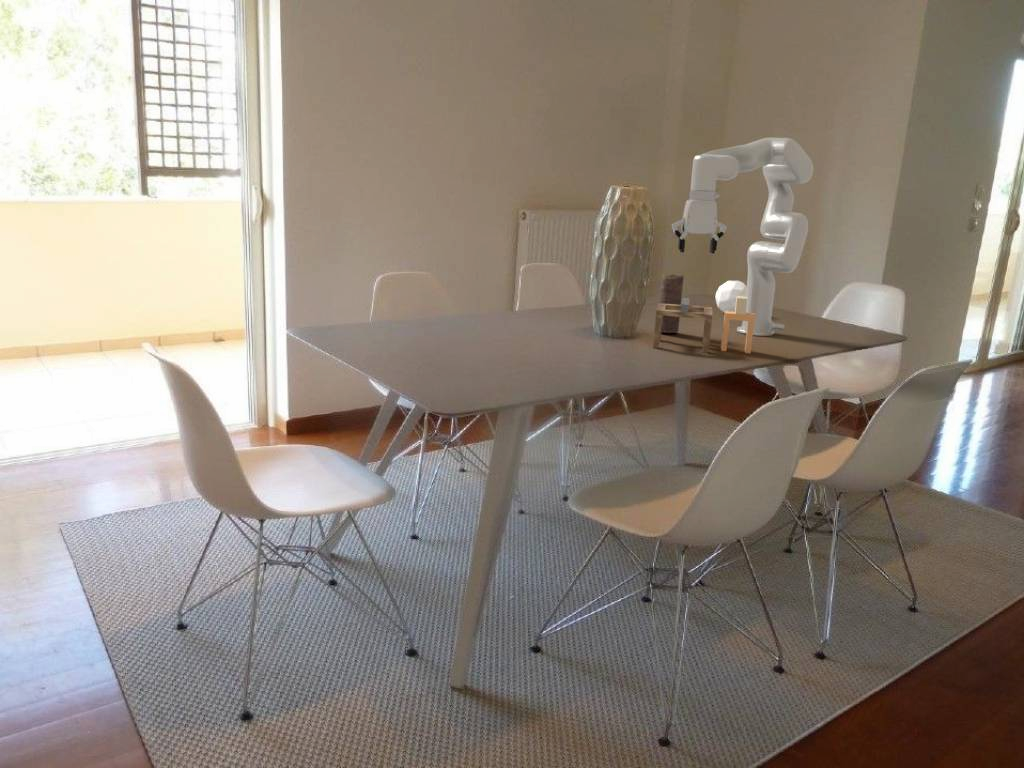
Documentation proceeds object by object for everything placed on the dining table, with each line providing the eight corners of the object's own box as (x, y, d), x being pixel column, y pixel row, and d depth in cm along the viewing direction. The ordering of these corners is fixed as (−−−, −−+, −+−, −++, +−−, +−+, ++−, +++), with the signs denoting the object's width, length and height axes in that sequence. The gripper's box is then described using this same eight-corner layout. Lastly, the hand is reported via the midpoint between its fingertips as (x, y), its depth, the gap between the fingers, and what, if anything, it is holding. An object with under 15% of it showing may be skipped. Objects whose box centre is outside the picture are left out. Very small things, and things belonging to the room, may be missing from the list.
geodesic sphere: (739, 295, 351) (727, 268, 344) (765, 301, 340) (752, 273, 333) (716, 318, 348) (703, 291, 341) (740, 324, 336) (728, 297, 329)
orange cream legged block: (749, 350, 277) (756, 297, 272) (750, 353, 272) (757, 299, 268) (720, 348, 278) (726, 295, 274) (721, 351, 274) (727, 297, 270)
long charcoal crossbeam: (688, 305, 282) (689, 298, 281) (688, 312, 269) (689, 305, 268) (681, 304, 282) (681, 297, 282) (680, 312, 269) (681, 304, 268)
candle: (677, 336, 293) (683, 276, 288) (655, 334, 294) (661, 275, 289) (678, 332, 300) (684, 274, 295) (656, 330, 302) (662, 272, 297)
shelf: (707, 343, 284) (711, 307, 280) (708, 353, 270) (712, 314, 267) (655, 339, 287) (658, 303, 284) (652, 348, 273) (656, 310, 270)
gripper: (726, 196, 273) (720, 252, 277) (671, 194, 272) (666, 250, 276) (733, 198, 266) (727, 254, 270) (677, 196, 264) (672, 253, 269)
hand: (696, 252), depth 273 cm, fingers open, 9 cm apart
